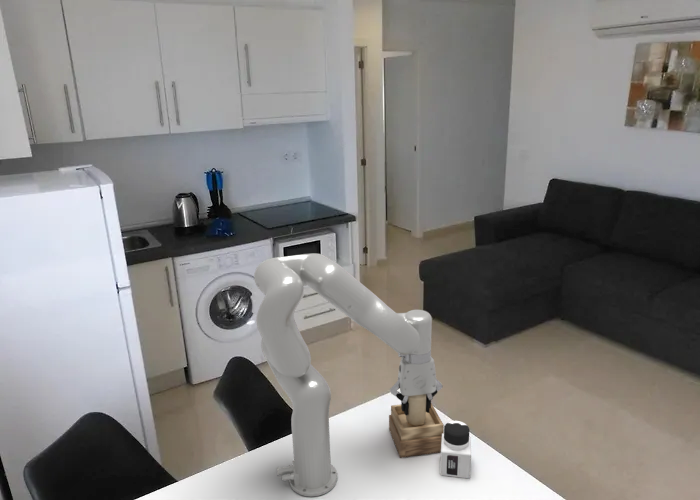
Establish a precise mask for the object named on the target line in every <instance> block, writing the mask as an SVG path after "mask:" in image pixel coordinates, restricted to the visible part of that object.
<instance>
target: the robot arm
mask: <svg viewBox="0 0 700 500" xmlns="http://www.w3.org/2000/svg"><path fill="white" fill-rule="evenodd" d="M253 279H254V283H255V285H256V287H257V289H259V291H260V292H261V293H263V295H264V298H263V300H262V302H261V304H260V306H259V307H258V310H257V313H256V322H255V323H256V326H257V329H258V332H259V334H260V336H261V342H260V343H261V344H260V347H261V351H262V354H263V356H264V357H265V360H266V362H267V364H268V366H269V368H270V369H271V371H272V373H273V375H274V378H275V379H276V381H277V383H278V384H279V386H280V387H281V388H282V390H283V391H284V393H285V394H286V396H287V397H288V398H289V399H290V401H291V402H290V403H291V404H292V414H291V419H290V421H291V435H292V437H291V438H292V439H291V440H292V449H293V452H292V454H293V460H292V464H289V465H288V466H286V467H284V466H281V467H277V468H276V471H277V472H276V473H277V477H278V476H279V477H280V476H281V479H282V482H284V481H285V482H286V481H289V486H290V488H291V489H292V490H293V491H294V492H295V493H297V494H298V495H301V496H305V497H318V496H323V495H324V494H327V493H329V492H330V491H332V490H333V488H334V487H335V486H336V484H337V482H338V472H337V469H336V468H335V466H334V465H333V464H331V463H332V462H331V458H332V457H331V441H330V440H331V439H330V418H329V417H330V405H331V401H332V399H331V398H332V397H331V396H332V392H331V388H330V386H329V384H328V381H327V380H326V379H325V377H324V376H323V375H322V374H321V373H320V372H319V371H318V369H316V368H315V367H314V366H313V364H311V362H312V356H311V353H310V349H309V346H308V345H307V343H306V342H305V340H304V338H303V336H302V334H301V332H300V330H299V327H298V325H297V323H296V321H295V312H296V309H297V307H298V305H300V302H301V301H302V297H303V295H304V288H305V286H308V287H309V288H311V289H312V290H313V292H316V294H318V295H320V297H322V298H323V299H325V300H326V301H327V302H328V303H330V304H331V305H332V306H334V307H335V308H336V309H338V311H340V312H342V313H343V314H344V315H345V316H347V317H348V318H349V319H351V320H352V321H353V322H354V323H355V324H357V325H358V326H361V327H362V328H364V329H366V330H367V331H368V332H370V333H372V334H373V335H374V336H376V338H378V340H381V341H382V342H383V343H384V344H386V345H387V346H389V347H390V348H391V349H393V351H395V352H396V353H397V354H398V358H400V362H399V367H398V374H397V381H396V382H395V383H394V385H392V386H391V387H390V389H389V392H390V394H391V395H393V396H394V397H396V398H397V399H398V400H399V401H400V402H401V403H400V404H401V409H402V411H404V413H405V415H408V402H407V399H408V397H409V396H414V395H423V394H426V412H427V413H429V408H431V403H432V400H433V399H434V397H435V395H437V394H438V392H439V391H440V390H442V388H443V386H444V385H443V384H442V382H441V381H439V379H437V375H436V374H437V373H436V372H437V371H436V365H435V359H434V358H433V357H432V330H433V328H432V325H433V324H432V323H433V322H432V321H433V318H432V315H431V314H430V313H429V312H428V311H427V310H423V309H412V310H409V311H407V312H396V311H395V310H393V309H392V308H391V307H390V306H388V305H387V304H386V303H385V302H384V301H383V300H382V299H381V298H380V297H378V296H377V294H375V293H373V291H372V290H371V289H369V288H367V286H366V285H364V284H363V283H361V281H360V280H358V279H356V277H354V276H353V275H352V274H351V273H349V272H348V271H347V270H346V269H345V268H344V267H342V266H341V265H340V264H339V263H337V262H336V261H334V260H332V259H330V257H327V256H326V255H323V254H321V253H303V254H295V255H287V256H278V257H277V256H276V257H272V258H271V257H270V258H268V259H265V260H264V261H262V262H260V263H259V264H258V265H257V267H256V269H255V271H254V275H253ZM399 390H400V391H399Z"/></svg>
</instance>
